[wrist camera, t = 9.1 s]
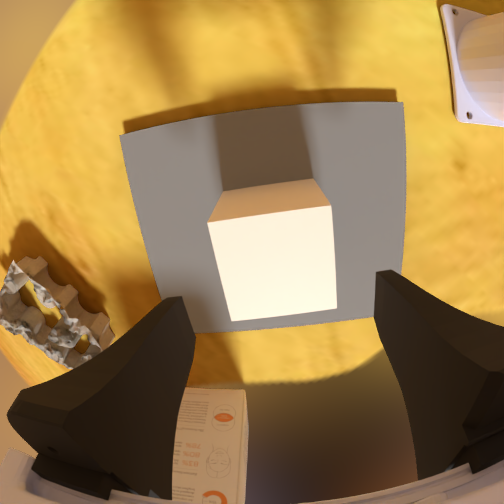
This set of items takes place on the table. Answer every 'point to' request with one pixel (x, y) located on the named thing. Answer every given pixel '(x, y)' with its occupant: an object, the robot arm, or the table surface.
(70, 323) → the egg carton
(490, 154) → the table surface
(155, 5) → the table surface
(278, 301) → the cube
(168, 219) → the mat
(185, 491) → the small box
